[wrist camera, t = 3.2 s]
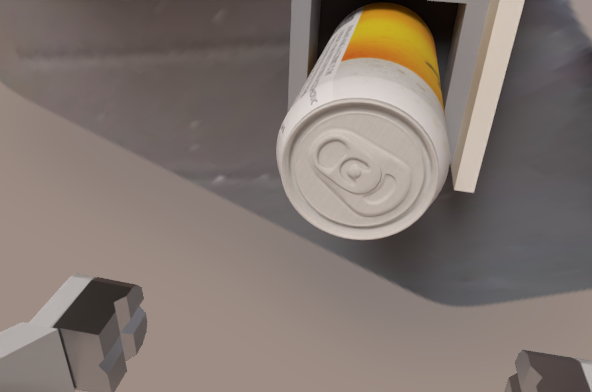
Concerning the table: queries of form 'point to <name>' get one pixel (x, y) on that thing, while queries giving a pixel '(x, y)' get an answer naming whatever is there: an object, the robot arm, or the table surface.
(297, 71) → the holder board
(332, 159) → the beer can
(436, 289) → the table surface
